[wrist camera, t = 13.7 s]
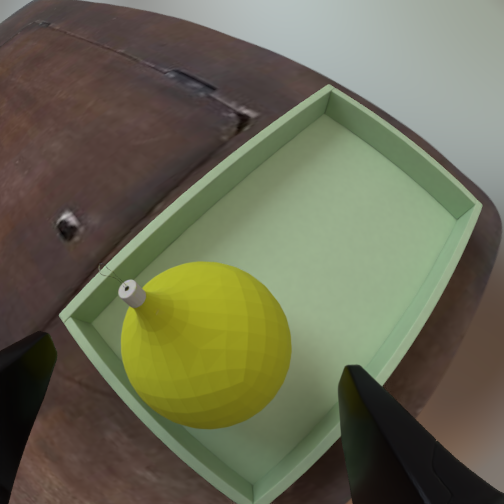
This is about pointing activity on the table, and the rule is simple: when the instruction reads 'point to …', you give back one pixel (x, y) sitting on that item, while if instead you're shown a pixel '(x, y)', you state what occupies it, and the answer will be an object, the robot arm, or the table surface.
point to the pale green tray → (297, 276)
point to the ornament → (204, 344)
